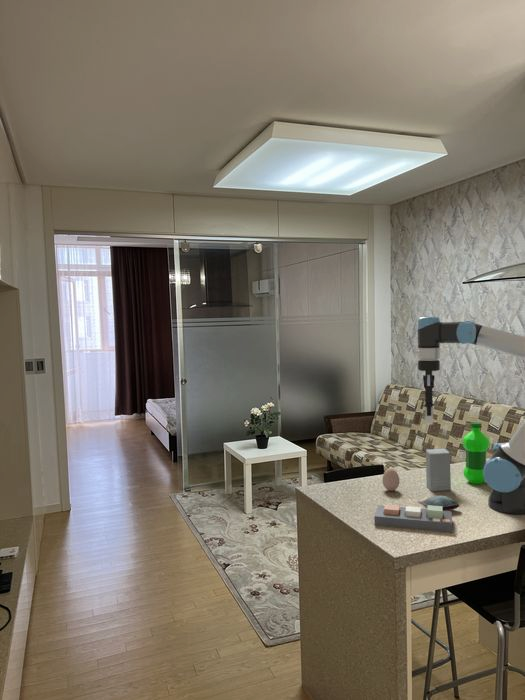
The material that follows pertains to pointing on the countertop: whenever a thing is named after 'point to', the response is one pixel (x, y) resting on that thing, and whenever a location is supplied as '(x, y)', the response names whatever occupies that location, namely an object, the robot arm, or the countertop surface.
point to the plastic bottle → (475, 454)
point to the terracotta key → (392, 509)
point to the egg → (390, 479)
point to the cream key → (413, 511)
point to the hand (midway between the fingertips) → (429, 424)
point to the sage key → (434, 512)
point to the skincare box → (438, 470)
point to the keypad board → (414, 520)
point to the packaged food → (440, 502)
